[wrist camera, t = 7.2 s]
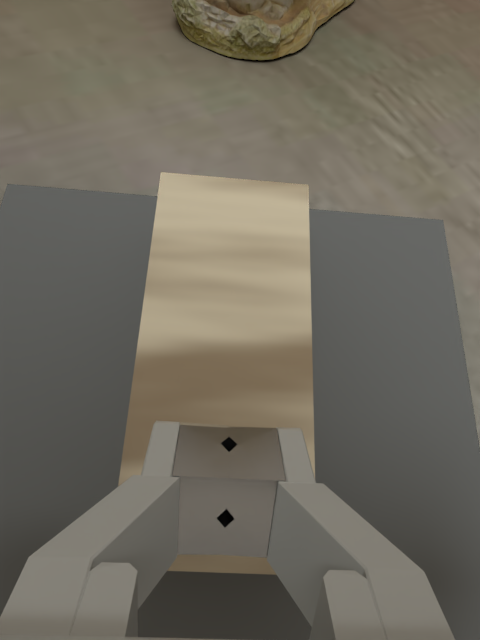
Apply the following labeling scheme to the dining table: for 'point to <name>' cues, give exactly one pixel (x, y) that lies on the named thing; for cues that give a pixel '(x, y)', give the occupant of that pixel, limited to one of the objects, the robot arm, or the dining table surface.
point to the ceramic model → (254, 24)
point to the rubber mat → (328, 398)
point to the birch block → (224, 321)
